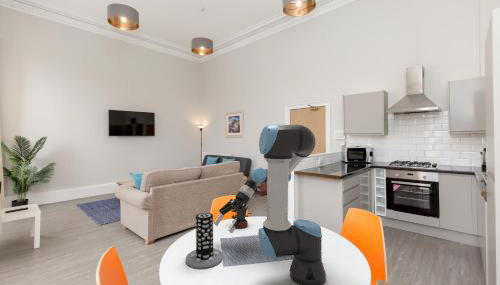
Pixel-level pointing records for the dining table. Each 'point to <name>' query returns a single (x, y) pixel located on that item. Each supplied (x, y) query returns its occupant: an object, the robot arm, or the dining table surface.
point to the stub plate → (204, 264)
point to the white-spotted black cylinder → (204, 236)
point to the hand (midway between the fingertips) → (222, 228)
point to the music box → (241, 224)
